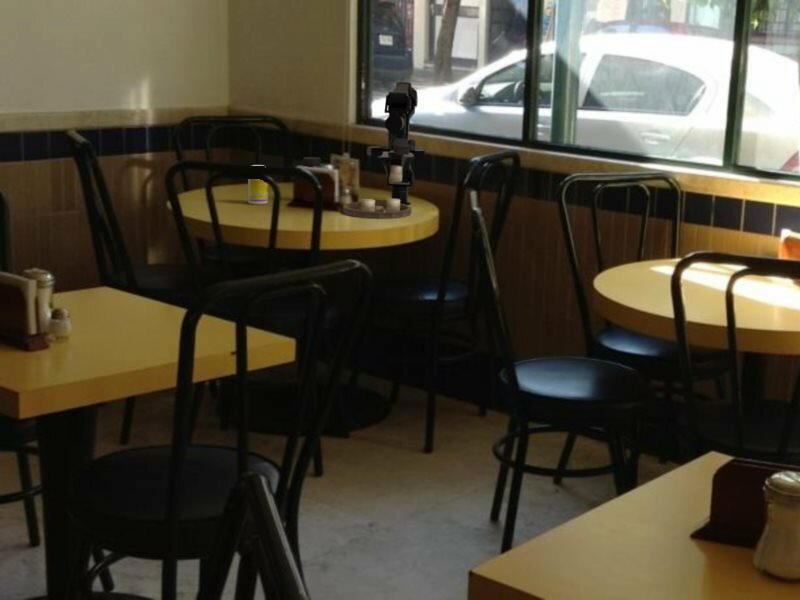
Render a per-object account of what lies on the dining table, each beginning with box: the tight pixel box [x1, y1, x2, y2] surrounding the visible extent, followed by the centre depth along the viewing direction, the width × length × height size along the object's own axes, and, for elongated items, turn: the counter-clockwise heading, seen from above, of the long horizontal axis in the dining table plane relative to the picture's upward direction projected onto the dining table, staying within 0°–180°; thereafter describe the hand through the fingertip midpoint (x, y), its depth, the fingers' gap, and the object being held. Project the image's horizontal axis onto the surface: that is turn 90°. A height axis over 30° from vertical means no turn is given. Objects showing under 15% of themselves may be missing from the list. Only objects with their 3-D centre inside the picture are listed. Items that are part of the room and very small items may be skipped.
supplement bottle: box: [247, 164, 269, 206], centre depth 437 cm, size 7×7×13 cm
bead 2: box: [386, 198, 400, 212], centre depth 418 cm, size 4×4×5 cm
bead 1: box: [360, 198, 376, 212], centre depth 416 cm, size 4×4×5 cm
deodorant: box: [302, 156, 322, 167], centre depth 444 cm, size 6×6×15 cm
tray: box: [342, 201, 413, 220], centre depth 422 cm, size 22×22×3 cm
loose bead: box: [389, 165, 403, 183], centre depth 429 cm, size 4×4×5 cm
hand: (395, 177), depth 430 cm, fingers closed on loose bead, 4 cm apart
